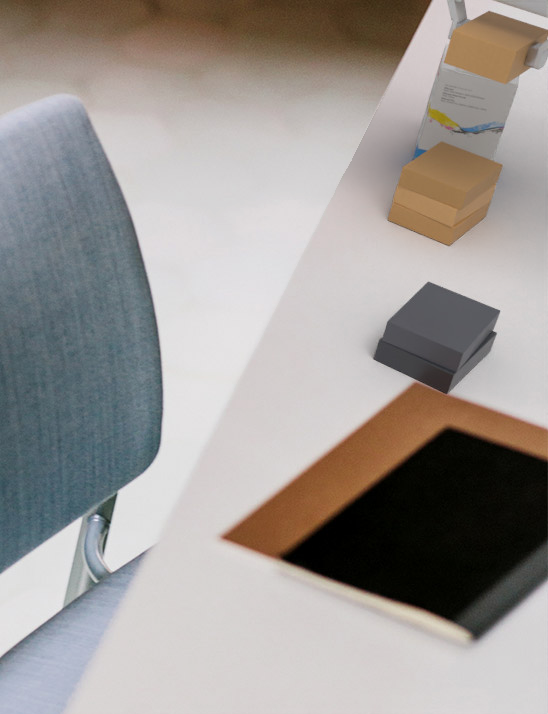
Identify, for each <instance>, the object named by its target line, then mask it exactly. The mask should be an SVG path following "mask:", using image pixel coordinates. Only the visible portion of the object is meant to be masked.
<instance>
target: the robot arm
mask: <svg viewBox="0 0 548 714" xmlns="http://www.w3.org/2000/svg"><path fill="white" fill-rule="evenodd" d="M492 1H494V2H497V3H499V4H503V5H506V6H509V7H513V8H516V9H519V10H522V11H525V12H528V13H531V14H534V15H537V16H541V17H543V18H546V19H548V0H492ZM446 2H447V6H448V7H447V8H448V11H449V16H450V20H451V24H450V27H449V31H448V35H447V39H448V40H449V41H450V40H451V36H452V33H453V30H454V29H456V28H458V27H460V26H462V25H464V24H465V23H467V22H469V21H471V20H472V19H469V18H468V15H467V8H466V1H465V0H446ZM547 60H548V38H547V40H546V41H545V42H544V43H543V44H542V43H539V42H536V43H534V44H533V45H531V46H529V49H528V52H527V57H526V58H525V61H524V65H526V66H529V67H531V68H532V69H535V70H537V71H540V70H541V69H542V68H544V67H545V65H546V63H547ZM531 68H530V69H531Z"/></svg>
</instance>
